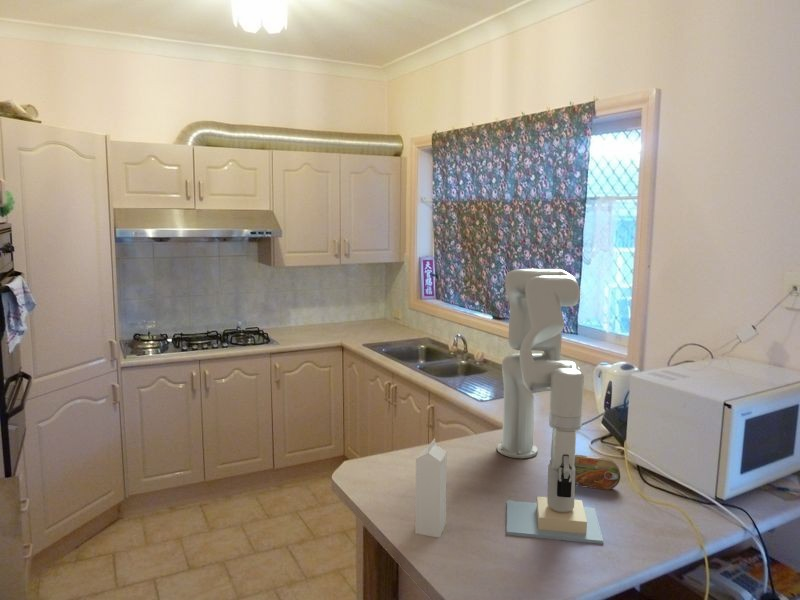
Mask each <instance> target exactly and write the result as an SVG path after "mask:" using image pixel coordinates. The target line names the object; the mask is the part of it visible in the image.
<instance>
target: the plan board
mask: <svg viewBox="0 0 800 600" xmlns="http://www.w3.org/2000/svg"><path fill="white" fill-rule="evenodd" d="M602 534H603V533H602V530H601V527H600V523H599V519H598V516H597V512H596V509H595V507H587V506H584V504H583V499H574V508H573V509H572V510H571V511H570V512H567V513H559V512H556V511H553V510H552V509H551V508H550V507H549V506H548V504H547V496H537V497H536V502H533V501H531V502H530V501H517V500H508V499H507V500H506V535H507V536H515V537H517V536H518V537H525V538H526V537H527V538H534V539H535V538H537V539H545V540H546V539H547V540H548V539H549V540H557V541H559V540H560V541H565V542H567V541H568V542H577V543H578V542H579V543H588V544H599V545H604V538H603V535H602Z"/></svg>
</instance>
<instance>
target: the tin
mask: <svg viewBox="0 0 800 600" xmlns="http://www.w3.org/2000/svg"><path fill="white" fill-rule="evenodd" d="M574 466H575V486H576V485H578V486H577V487H582V486H587V487H586V488H589V487H592V488H591V489H596V488H597V490H602V491H603V490H604V491H608V490H613V489H614V488H616V487H617V486H618V484H619V483H620V481H621V471H620V468H619V466H618V465H617V463H616V462H615V461H613V460H612V459H610V458H606V457H598V456H590V455H583V454H582V455H581V454H575V462H574Z"/></svg>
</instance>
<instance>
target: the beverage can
mask: <svg viewBox="0 0 800 600" xmlns="http://www.w3.org/2000/svg"><path fill="white" fill-rule="evenodd" d="M561 468H563V466H561ZM562 473H563V471H561V474H562ZM557 480H559V469H556V470H554V469H553V468H552V462H551V459H550V460H549V464H548V465H547V494H546V495H547V496H546V497H547V504H548V506H549V507H550V508H551V509H552V510H553V511H556V512H559V513H567V512H570V511H571V510H572V509H573V508H574V500H575V491H576V485H575V466H574V470H573V471H571V481H572V486H571V497H570V498H568V497H558V496H557Z"/></svg>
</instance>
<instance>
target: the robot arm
mask: <svg viewBox="0 0 800 600" xmlns="http://www.w3.org/2000/svg"><path fill="white" fill-rule="evenodd" d="M504 287H505V292H506V297H507V299H508V304H509V318H508V319H509V320H508V344H509V347H510V348H511V349H512V350H515V351H519V353H518V352H517V353H511V354H508V355H506V356H504V358H503V360H502V362H501V371H502V380H503V415H502V416H503V417H502V418H503V419H502V441H501V442H499V443H498V444H497V447H496V448H497V452H498V453H499V454H501V455H503V456H505V457H507V458H513V459H529V458H534V457H535V456H536V455H537V454H538V453H539V452H538V450H539V449H538V446H536V445H535V444H534V425H535V424H534V423H535V422H534V421H535V401H536V400H535V396H534V394H533V391H534V392H549V391H550V397H549V416H548V417H549V418H548V419H549V420H548V426H549V427H550V428H552V433H551V446H550V448H551V449H550V460H551V462H552V468H553V469H554V470H556V469H559V480H557V496H558V497H568V498H570V497H571V486H572V481H571V471H573V470H574V462H575V455H576V447H577V432H578V431H580V430H581V429H582V423H583V422H582V421H583V403H584V402H583V401H584V382H585V378H584V377H585V376H584V373H583V372H582V371H581V369H580V367H579V366H578V364H577V362H574V361H572V360H561V352H562V340H563V339H562V337H563V336H562V332H563V329H564V328H565V320H564V316H563V311H562V307H575V306H577V304H578V303H579V301H580V299H581V298H580V297H581V289H580V286H579V283H578V281H577V279H576V277H574V275H572V274H570V273H569V272H567V271H565V270H563V269H557V268H556V269H554V268H517V269H512V270H510V271H509V272H507V274H506V276H505V279H504ZM533 352H534V353H533ZM536 352H537V353H536ZM538 352H540V353H538ZM541 352H543V353H541ZM561 466H563V468H561ZM561 471H563V473H562V474H561Z"/></svg>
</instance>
